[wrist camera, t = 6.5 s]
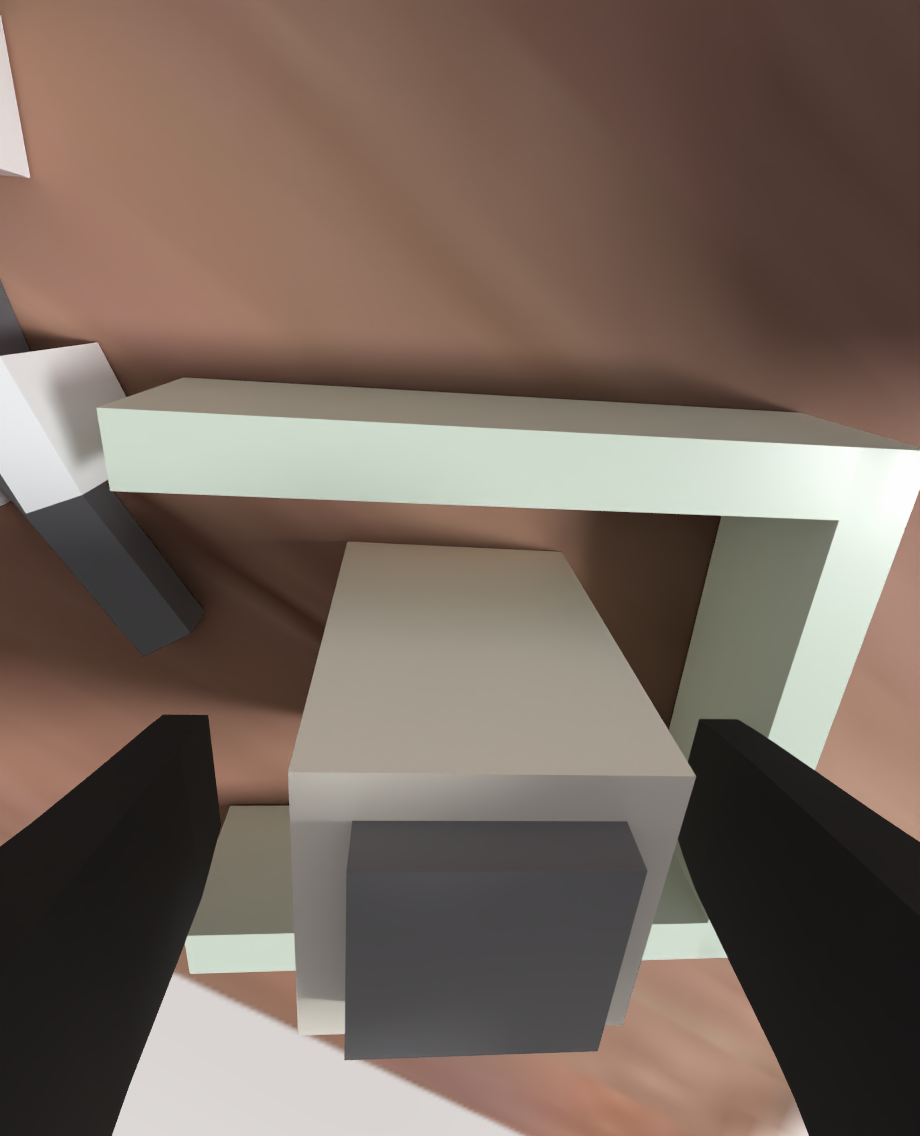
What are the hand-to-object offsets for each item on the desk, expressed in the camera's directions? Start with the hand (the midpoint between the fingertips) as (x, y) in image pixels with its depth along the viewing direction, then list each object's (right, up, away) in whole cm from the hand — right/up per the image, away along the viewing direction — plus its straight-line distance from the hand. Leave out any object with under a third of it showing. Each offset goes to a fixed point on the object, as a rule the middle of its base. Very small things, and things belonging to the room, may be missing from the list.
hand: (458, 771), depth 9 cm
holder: (0, +1, +3) cm, 3 cm away
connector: (0, +2, +3) cm, 4 cm away
